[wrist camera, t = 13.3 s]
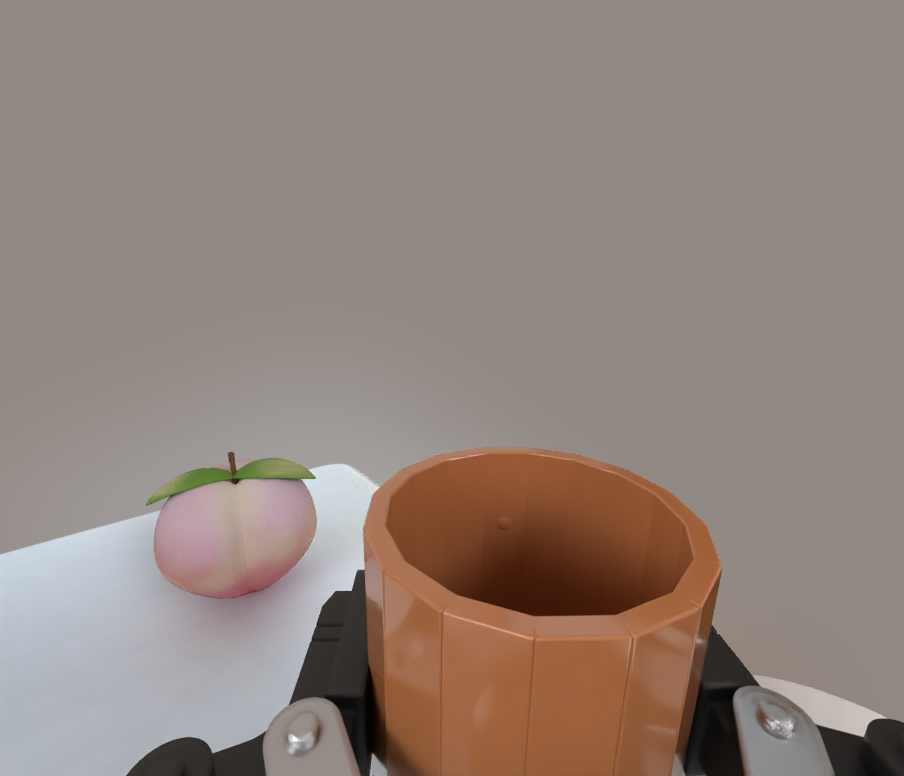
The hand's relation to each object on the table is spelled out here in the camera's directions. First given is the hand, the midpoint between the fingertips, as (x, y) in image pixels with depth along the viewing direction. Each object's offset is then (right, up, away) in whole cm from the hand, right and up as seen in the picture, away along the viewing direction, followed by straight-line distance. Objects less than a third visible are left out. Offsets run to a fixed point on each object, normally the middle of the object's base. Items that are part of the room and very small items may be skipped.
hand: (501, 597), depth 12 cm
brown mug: (0, -6, +1) cm, 6 cm away
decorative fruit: (-15, -8, +18) cm, 25 cm away
